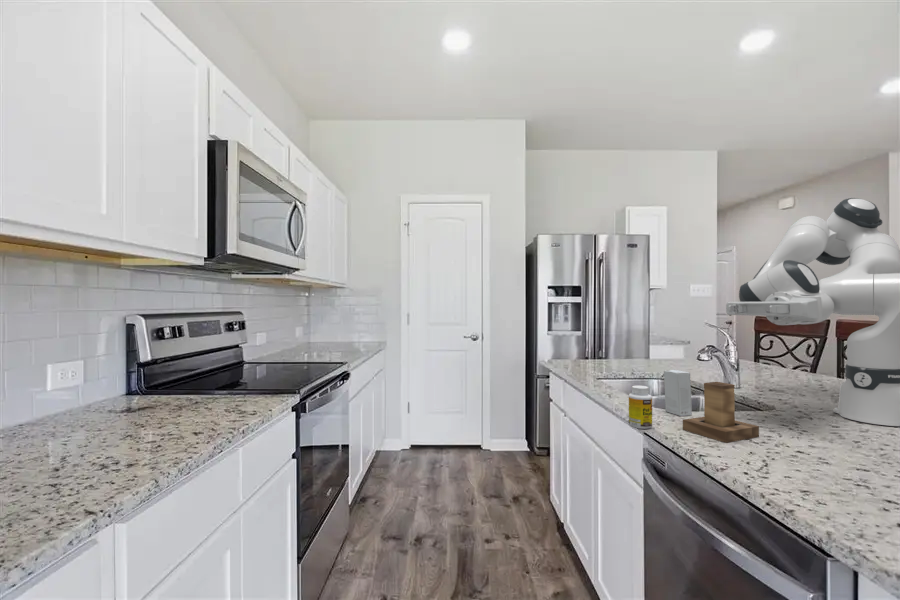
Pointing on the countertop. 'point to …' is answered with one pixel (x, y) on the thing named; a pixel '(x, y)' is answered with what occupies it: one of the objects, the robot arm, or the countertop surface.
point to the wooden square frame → (721, 430)
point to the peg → (719, 404)
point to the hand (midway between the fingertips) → (749, 308)
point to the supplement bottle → (640, 408)
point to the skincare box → (677, 392)
